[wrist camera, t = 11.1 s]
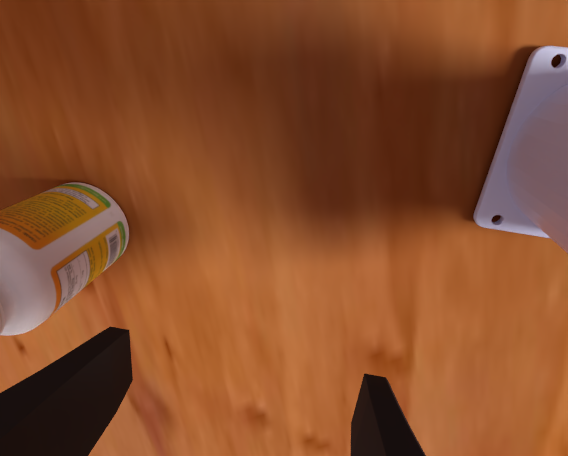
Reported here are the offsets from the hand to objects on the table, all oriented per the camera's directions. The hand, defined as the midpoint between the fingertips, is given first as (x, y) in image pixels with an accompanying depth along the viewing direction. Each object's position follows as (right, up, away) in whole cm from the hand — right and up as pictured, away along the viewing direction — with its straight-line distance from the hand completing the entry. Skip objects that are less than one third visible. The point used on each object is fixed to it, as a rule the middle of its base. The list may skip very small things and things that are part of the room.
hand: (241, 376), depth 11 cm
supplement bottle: (-10, +5, +12) cm, 16 cm away
